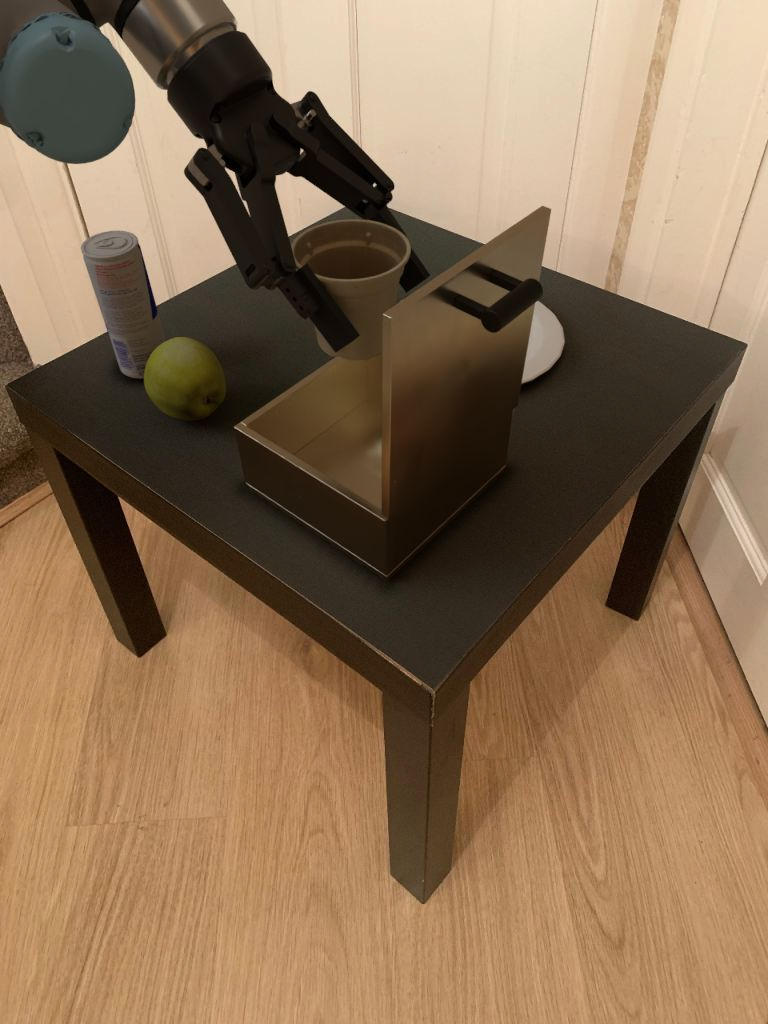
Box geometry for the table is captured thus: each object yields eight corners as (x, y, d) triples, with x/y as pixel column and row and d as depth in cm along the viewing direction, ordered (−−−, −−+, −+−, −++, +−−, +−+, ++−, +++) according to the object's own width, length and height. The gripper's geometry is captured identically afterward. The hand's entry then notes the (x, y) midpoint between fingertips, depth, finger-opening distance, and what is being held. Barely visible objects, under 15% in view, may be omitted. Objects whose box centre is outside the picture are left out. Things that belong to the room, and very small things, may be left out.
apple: (198, 374, 88) (183, 312, 82) (247, 412, 83) (235, 349, 77) (137, 406, 84) (117, 343, 78) (185, 448, 79) (167, 384, 74)
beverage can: (181, 364, 89) (149, 240, 78) (140, 388, 86) (100, 263, 75) (152, 345, 92) (117, 222, 81) (110, 367, 89) (68, 243, 78)
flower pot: (432, 338, 68) (436, 245, 62) (355, 389, 63) (350, 294, 57) (354, 298, 72) (350, 207, 66) (277, 343, 68) (264, 250, 61)
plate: (454, 275, 100) (454, 263, 99) (598, 336, 91) (600, 323, 90) (341, 350, 90) (340, 338, 89) (490, 428, 80) (491, 416, 79)
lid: (381, 313, 48) (441, 343, 46) (542, 205, 57) (598, 226, 55) (381, 514, 62) (427, 544, 60) (510, 402, 70) (554, 425, 68)
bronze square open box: (246, 488, 75) (233, 426, 70) (368, 397, 84) (365, 335, 79) (387, 582, 67) (385, 520, 62) (505, 470, 76) (513, 408, 71)
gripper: (274, 51, 67) (428, 272, 73) (72, 144, 55) (275, 401, 61) (319, -12, 61) (483, 233, 67) (103, 76, 49) (326, 367, 55)
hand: (384, 312), depth 64 cm, fingers closed on flower pot, 9 cm apart
